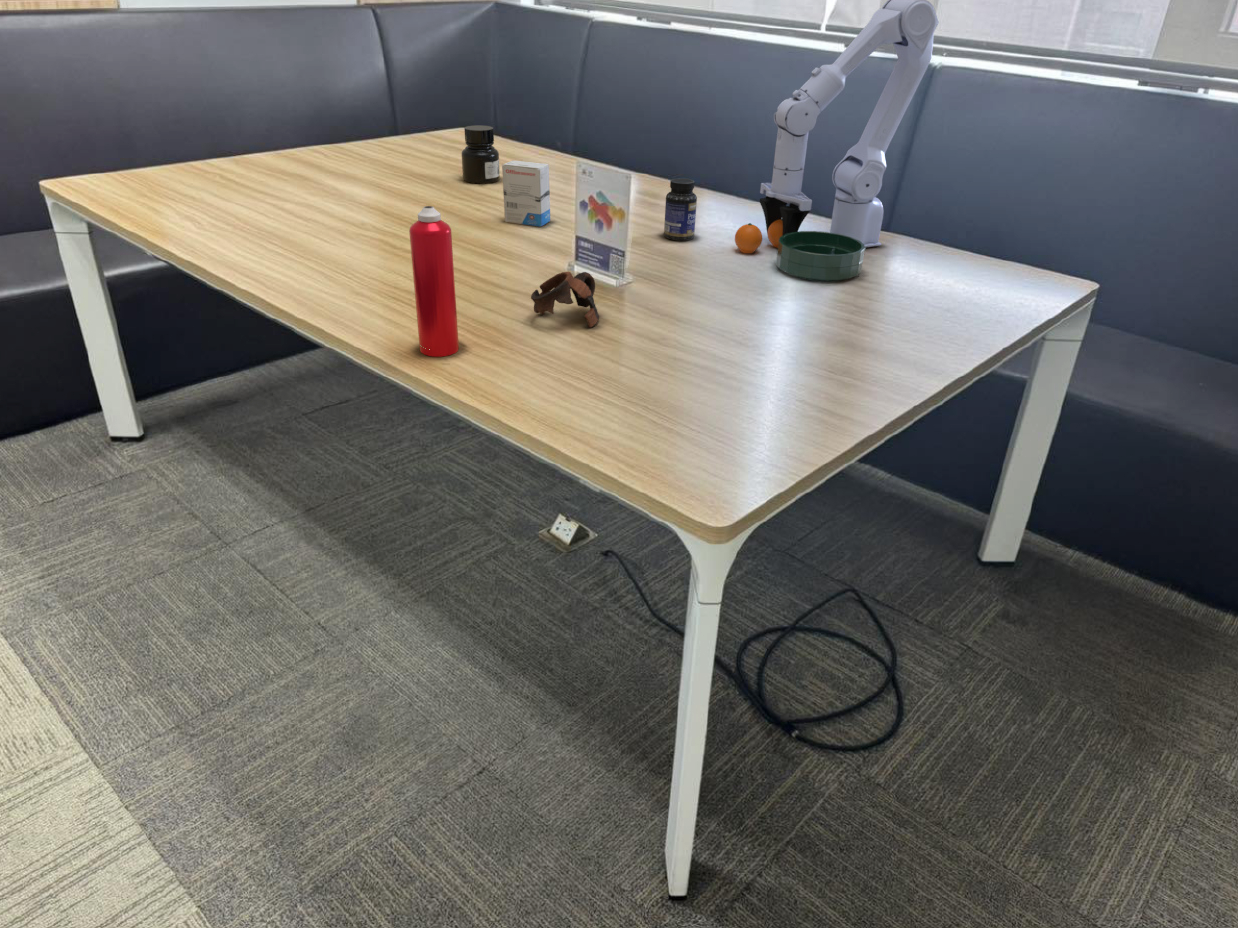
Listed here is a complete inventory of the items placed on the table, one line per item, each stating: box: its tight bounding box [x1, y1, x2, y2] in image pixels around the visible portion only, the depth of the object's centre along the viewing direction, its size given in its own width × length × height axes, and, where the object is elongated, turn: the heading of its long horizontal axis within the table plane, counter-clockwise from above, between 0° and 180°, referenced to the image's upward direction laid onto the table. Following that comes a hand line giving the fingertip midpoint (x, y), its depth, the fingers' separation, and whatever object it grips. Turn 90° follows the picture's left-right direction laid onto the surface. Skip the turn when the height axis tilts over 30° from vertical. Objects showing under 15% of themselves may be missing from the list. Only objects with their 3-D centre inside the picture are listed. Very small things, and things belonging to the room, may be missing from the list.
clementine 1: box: [734, 222, 763, 254], centre depth 171 cm, size 5×5×6 cm
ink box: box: [501, 160, 551, 228], centre depth 183 cm, size 9×5×12 cm, turn 68°
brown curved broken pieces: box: [530, 271, 600, 328], centre depth 138 cm, size 12×10×8 cm
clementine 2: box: [767, 219, 783, 249], centre depth 175 cm, size 5×5×6 cm
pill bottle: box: [663, 177, 698, 242], centre depth 177 cm, size 6×6×11 cm
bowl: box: [775, 230, 866, 282], centre depth 163 cm, size 15×15×5 cm
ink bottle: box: [461, 124, 501, 184], centre depth 214 cm, size 10×9×12 cm
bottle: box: [408, 205, 460, 358], centre depth 122 cm, size 5×5×20 cm
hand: (780, 239), depth 175 cm, fingers closed on clementine 2, 5 cm apart
